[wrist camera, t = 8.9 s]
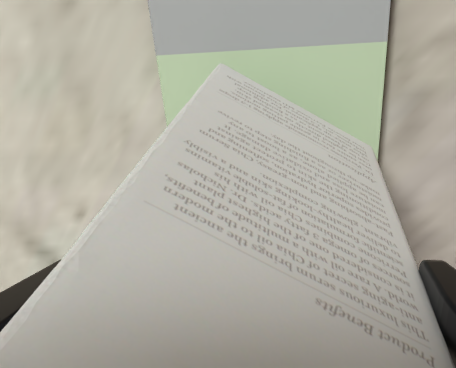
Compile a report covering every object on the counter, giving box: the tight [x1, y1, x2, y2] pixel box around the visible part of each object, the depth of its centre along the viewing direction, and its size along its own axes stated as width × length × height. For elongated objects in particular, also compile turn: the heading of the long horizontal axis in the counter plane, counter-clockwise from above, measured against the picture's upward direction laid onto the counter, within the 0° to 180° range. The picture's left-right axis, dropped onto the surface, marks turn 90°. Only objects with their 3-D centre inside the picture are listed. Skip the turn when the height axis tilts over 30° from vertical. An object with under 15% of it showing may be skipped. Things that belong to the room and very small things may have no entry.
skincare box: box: [0, 63, 455, 368], centre depth 10 cm, size 6×4×12 cm
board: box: [148, 0, 391, 161], centre depth 15 cm, size 8×14×1 cm, turn 5°
